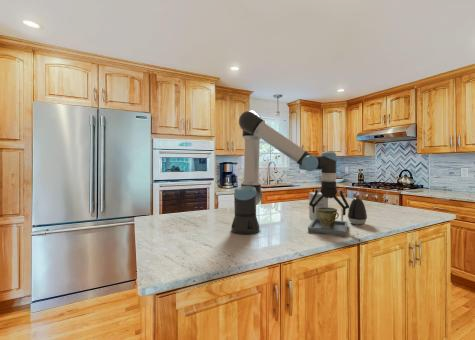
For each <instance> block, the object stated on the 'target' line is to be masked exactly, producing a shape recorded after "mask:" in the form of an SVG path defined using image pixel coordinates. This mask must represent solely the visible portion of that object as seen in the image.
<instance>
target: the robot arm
mask: <svg viewBox="0 0 475 340" xmlns="http://www.w3.org/2000/svg"><path fill="white" fill-rule="evenodd" d="M238 125H239V127H240V129H241V130H242V138H243V139H244V158H243V159H244V162H243V163H244V164H243V167H244V168H243V181H242V182H241V184H240V186H237V187H235V188H234V193H233V196H234V198H233V199H234V202H233V203H234V206H233V208H234V216H233V220H232V223H231V229H230V230H231V232H232V233H235V234H239V235H252V234H257V233H259V232H260V231H261V230H260V229H261V228H260V224H259V221H258V217H257V206H258V204H260V202H261V200H262V198H263V193H262V183H261V182H260V181H259V173H260V171H259V170H260V140H262V141H264V142H265V143H267V144H268V145H270V146H271V147H272V148H274V149H276V150H277V151H279V152H280V153H281V154H283V155H284V156H285V157H287V158H289V159H290V160H292V161H293V162H295V163H296V164H298V170H301V171H302V170H303V171H307V172H312V171H317V170H319V171H321V178H320V179H321V182H320V183H321V184H320V185H321V189H318V188H317V189H315V191H314V192H315V194H314V196H313V198H312V200H311V202H310V203H308V206H309V205H310V206H312V207H313V213H314V219H316V218H317V207H315V206H316V205H317V203H318V202H319V201H320V200H321V199H322V198H323V197H325V198H328V199H334V200H335V201H336V202H337V204H338V205H339V206H340V207H341V212H340V215H341V219H340V221H341V222H343V221H344V216H346V211H347V210H346V209H349V207H350V204H349V203H348V201H347V199H346V197H345V195H344V193H343V189H339V190H337V160H338V159H337V153H336V152H335V151H325V152H324V151H323V152H321V154H320V155H312V154H311V153H309V152H308V151H306V150H305V149H304V148H302V147H301V146H299V145H298V144H296V143H294V142H293V141H292V140H290V139H289V138H287V137H286V136H284V135H283V134H282V133H280V132H278V131H277V130H276V129H275V128H273V127H272V126H269V125H268V124H267V123H266V121H265V119H263V118H262V117H261V116H260V115H259V114H258V113H256V111H254V110H246V111H244V112H242V113H241V115H239V119H238ZM319 192H321V193H322V196H321V197H320V198H319V199H318V200H317V201H316V202H315V203H314V204H312V203H313V201H314V200H315V198H316V196H317V194H318V193H319ZM336 194H339V195H340V197H341V199H342V201H343V202H342V201H341V200H340V199H339V198H338V196H337V195H336Z"/></svg>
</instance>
